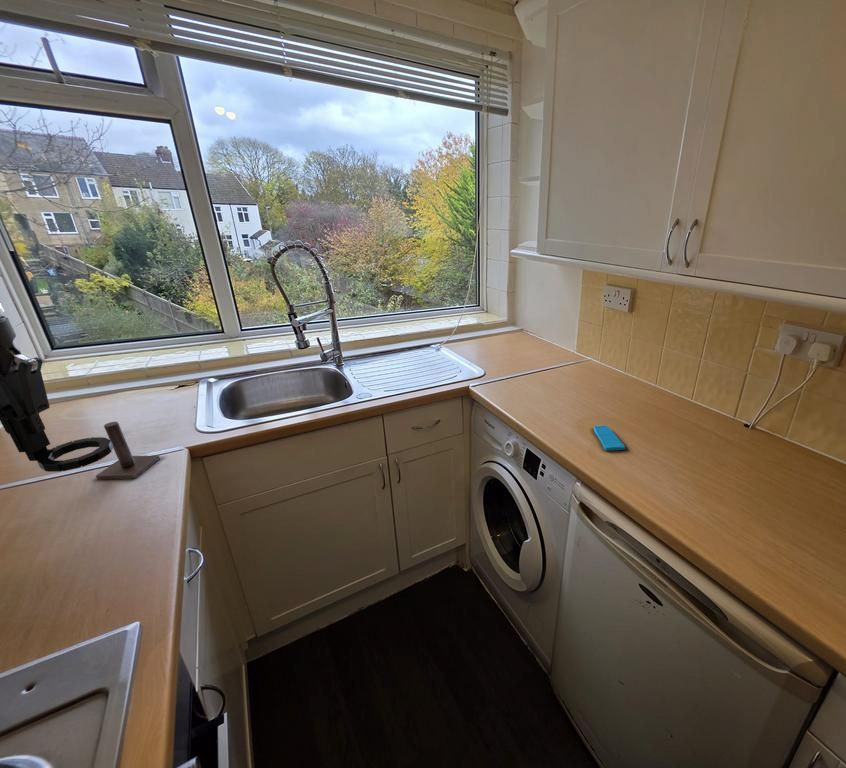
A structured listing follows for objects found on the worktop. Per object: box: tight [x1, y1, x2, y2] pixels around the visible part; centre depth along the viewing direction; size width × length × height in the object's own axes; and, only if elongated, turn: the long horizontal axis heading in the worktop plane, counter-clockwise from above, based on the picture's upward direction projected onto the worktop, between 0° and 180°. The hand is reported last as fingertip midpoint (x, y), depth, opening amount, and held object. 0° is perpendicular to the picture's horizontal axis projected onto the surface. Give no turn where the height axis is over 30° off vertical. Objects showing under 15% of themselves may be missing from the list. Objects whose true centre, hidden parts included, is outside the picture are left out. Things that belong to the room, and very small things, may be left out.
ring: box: [4, 407, 114, 473], centre depth 72 cm, size 12×9×10 cm
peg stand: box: [95, 421, 161, 480], centre depth 93 cm, size 8×8×12 cm
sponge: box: [593, 425, 626, 452], centre depth 112 cm, size 2×12×6 cm
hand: (35, 447), depth 72 cm, fingers closed on ring
